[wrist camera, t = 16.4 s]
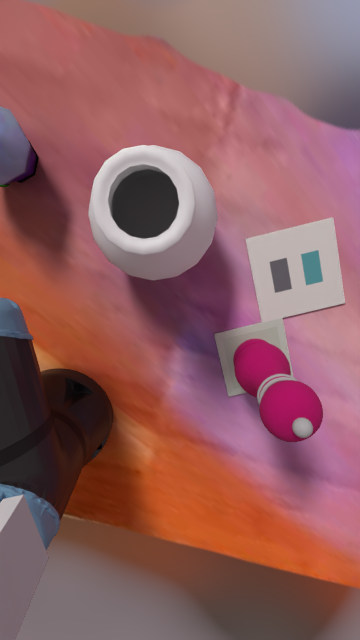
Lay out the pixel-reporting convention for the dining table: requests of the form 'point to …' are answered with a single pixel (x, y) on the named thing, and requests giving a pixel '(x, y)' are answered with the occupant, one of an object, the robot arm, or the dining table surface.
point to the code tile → (296, 270)
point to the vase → (152, 212)
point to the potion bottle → (14, 151)
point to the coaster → (235, 337)
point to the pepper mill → (277, 391)
